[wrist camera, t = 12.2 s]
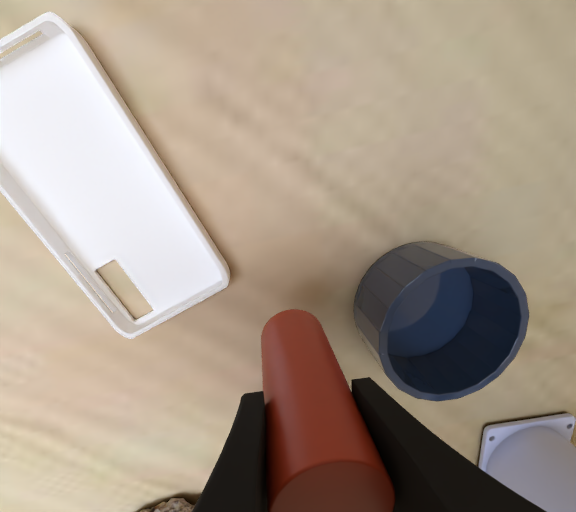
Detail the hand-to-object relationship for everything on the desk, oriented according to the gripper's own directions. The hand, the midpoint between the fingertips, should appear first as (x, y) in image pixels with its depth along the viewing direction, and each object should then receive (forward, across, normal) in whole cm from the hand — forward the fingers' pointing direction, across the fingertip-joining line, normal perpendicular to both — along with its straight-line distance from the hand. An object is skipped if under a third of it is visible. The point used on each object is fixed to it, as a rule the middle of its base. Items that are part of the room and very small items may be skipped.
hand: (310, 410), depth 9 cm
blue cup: (+10, -9, +2) cm, 13 cm away
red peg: (+4, 0, 0) cm, 4 cm away
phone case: (+10, +9, -7) cm, 15 cm away
